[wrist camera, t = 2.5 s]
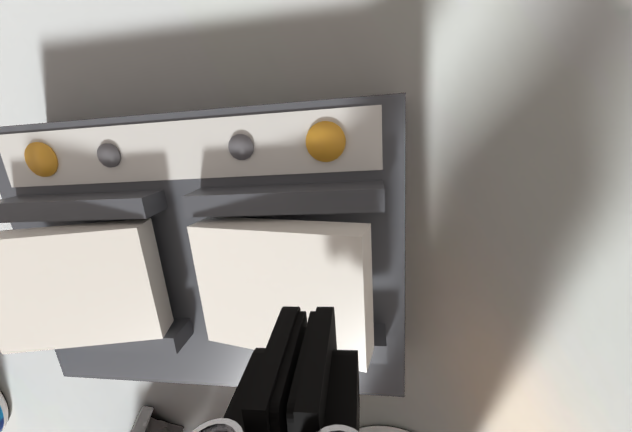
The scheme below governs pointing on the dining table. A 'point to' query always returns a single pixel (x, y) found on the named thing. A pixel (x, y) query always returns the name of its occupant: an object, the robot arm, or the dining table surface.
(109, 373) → the switch unit
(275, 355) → the robot arm
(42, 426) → the dining table surface
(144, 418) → the electrical switch
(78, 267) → the rocker
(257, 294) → the block
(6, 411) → the beverage bottle
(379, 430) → the fruit juice
